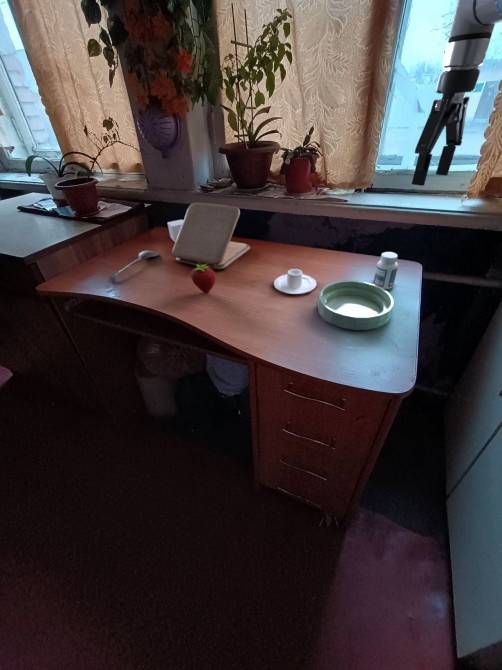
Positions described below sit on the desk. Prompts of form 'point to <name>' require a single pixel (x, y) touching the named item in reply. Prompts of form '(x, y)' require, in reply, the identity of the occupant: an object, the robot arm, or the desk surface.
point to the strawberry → (203, 278)
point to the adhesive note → (174, 228)
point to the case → (209, 236)
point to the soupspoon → (141, 256)
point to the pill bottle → (386, 270)
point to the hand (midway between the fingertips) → (430, 179)
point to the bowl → (355, 305)
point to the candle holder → (295, 282)
